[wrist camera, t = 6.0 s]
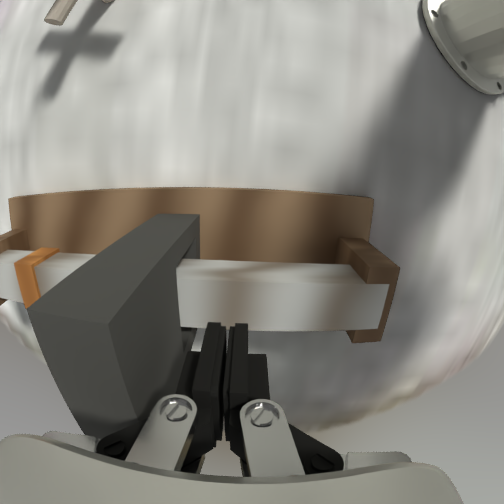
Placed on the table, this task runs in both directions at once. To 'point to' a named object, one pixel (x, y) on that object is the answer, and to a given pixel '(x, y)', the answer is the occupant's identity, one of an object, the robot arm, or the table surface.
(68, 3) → the pipe connector
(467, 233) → the table surface
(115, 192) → the pipe stand
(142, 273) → the dark grey tapered slab
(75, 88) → the table surface
